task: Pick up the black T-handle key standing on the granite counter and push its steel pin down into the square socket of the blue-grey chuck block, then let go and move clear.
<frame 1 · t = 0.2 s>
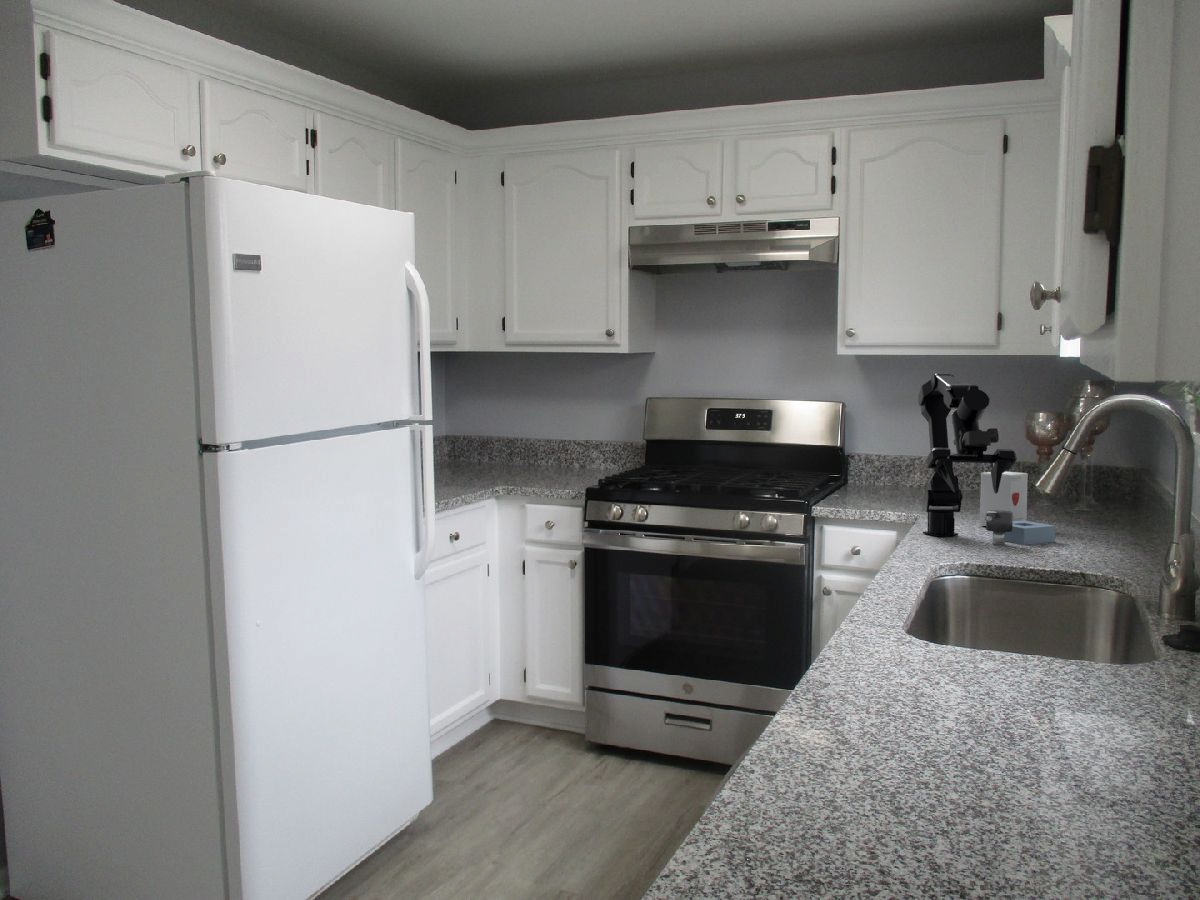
hand: (975, 492, 216), 15 cm above the worktop, tool tilted 30°, fingers open, 9 cm apart
chuck block: (1023, 540, 238), on the worktop
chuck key: (998, 544, 233), on the worktop
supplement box: (1003, 527, 260), on the worktop
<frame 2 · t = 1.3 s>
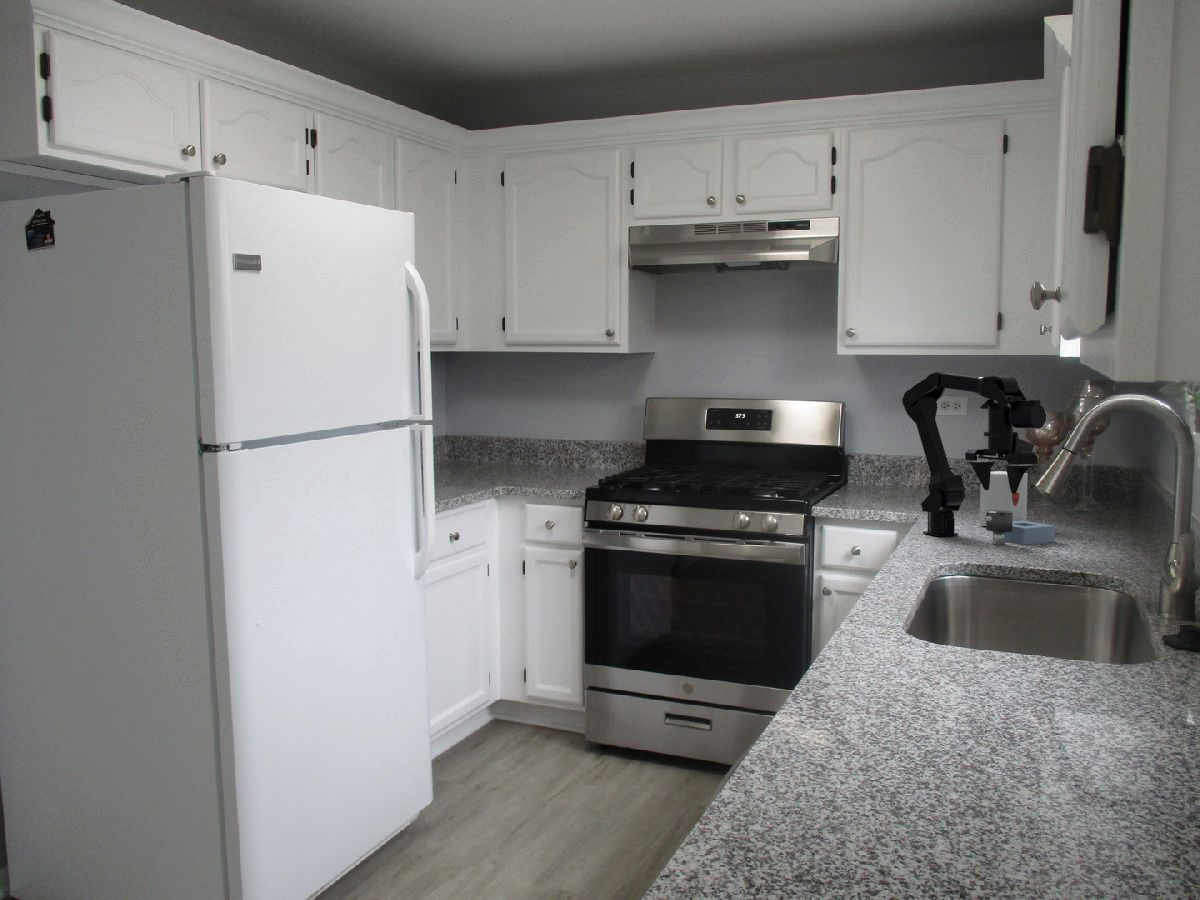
hand: (999, 491, 231), 13 cm above the worktop, tool pointing down, fingers open, 9 cm apart
nothing on the worktop moved.
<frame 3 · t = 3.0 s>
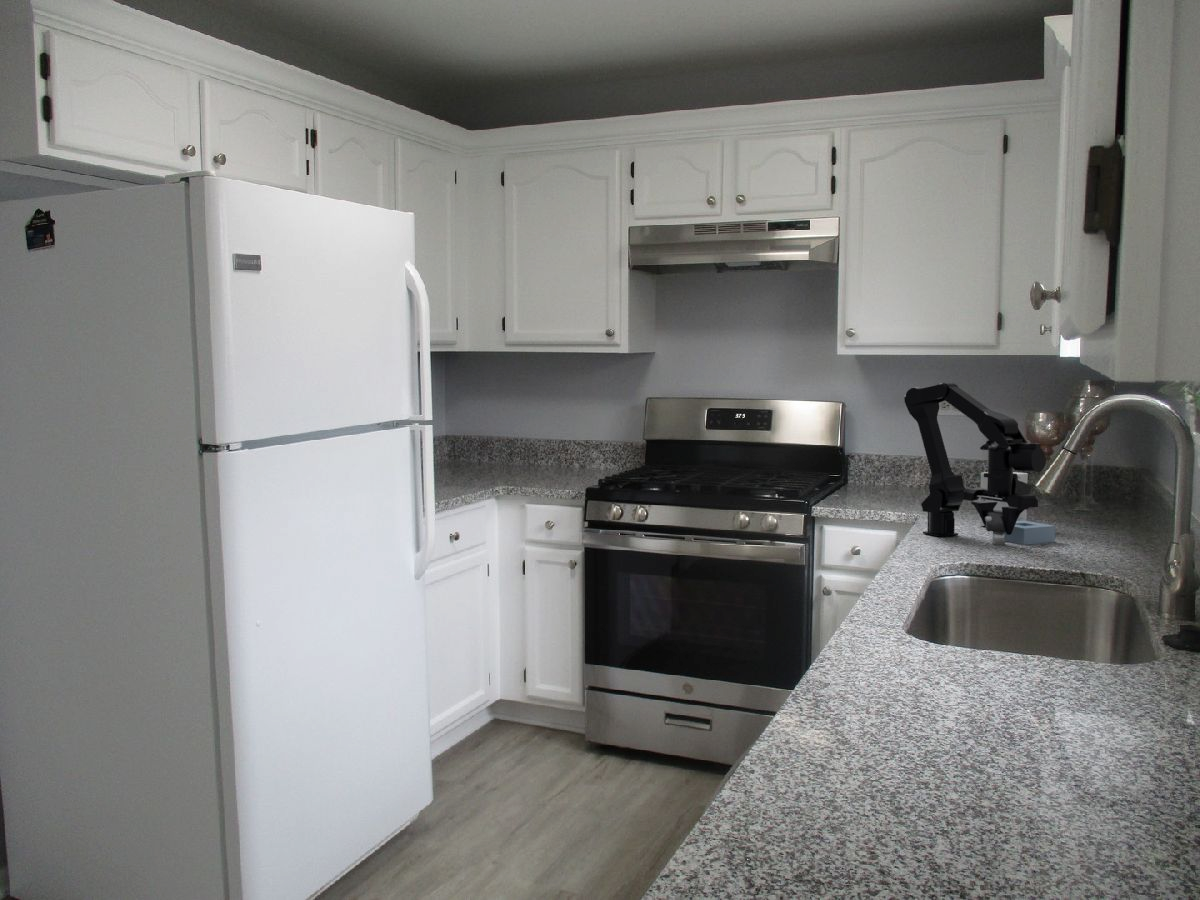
hand: (999, 532, 232), 3 cm above the worktop, tool pointing down, fingers closed on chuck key, 6 cm apart
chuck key: (998, 544, 233), on the worktop, touching gripper
everything else where it was.
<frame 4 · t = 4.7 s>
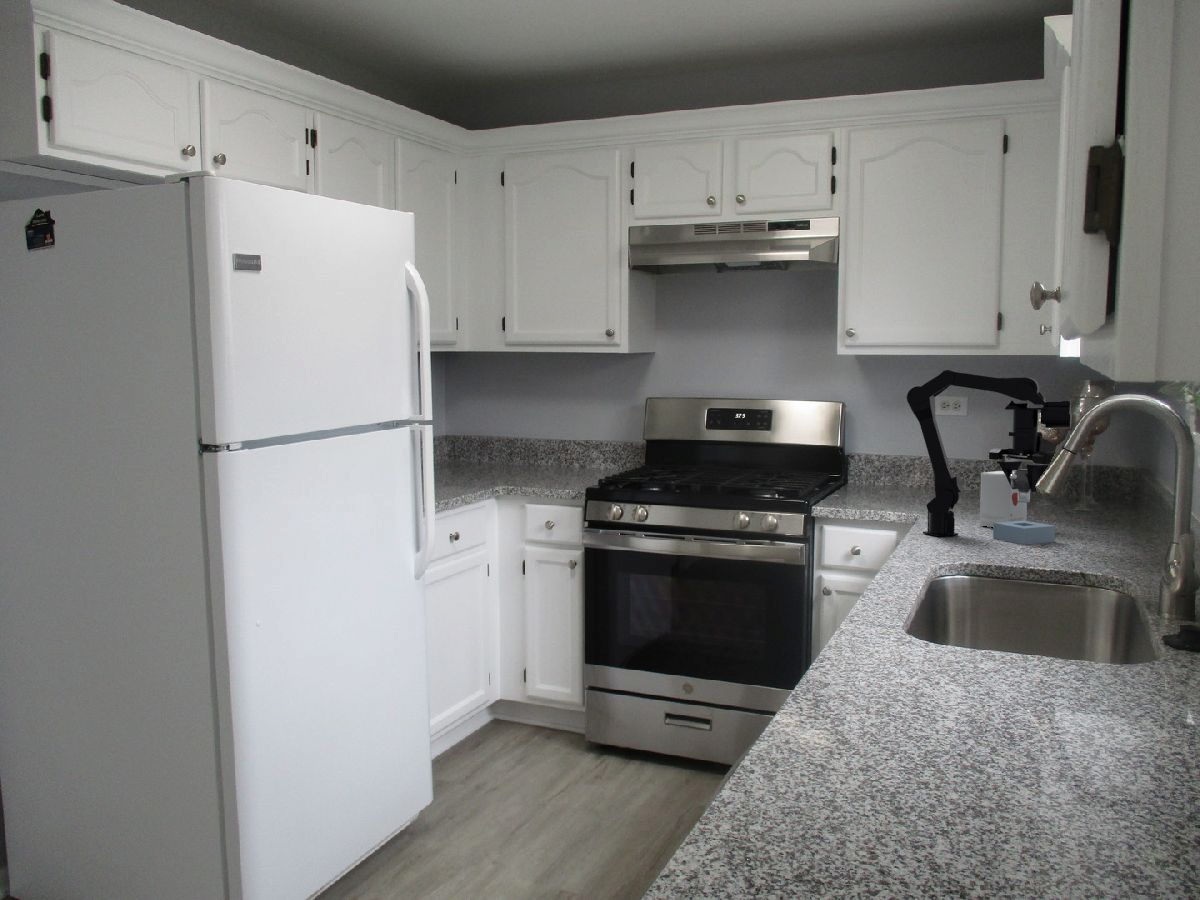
hand: (1023, 490, 237), 13 cm above the worktop, tool pointing down, fingers closed on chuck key, 6 cm apart
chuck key: (1023, 501, 237), point 10 cm above the worktop, touching gripper
everything else where it was.
when the fingers open (5 cm above the worktop, at t = 6.4 s): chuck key drops 1 cm, resting on chuck block.
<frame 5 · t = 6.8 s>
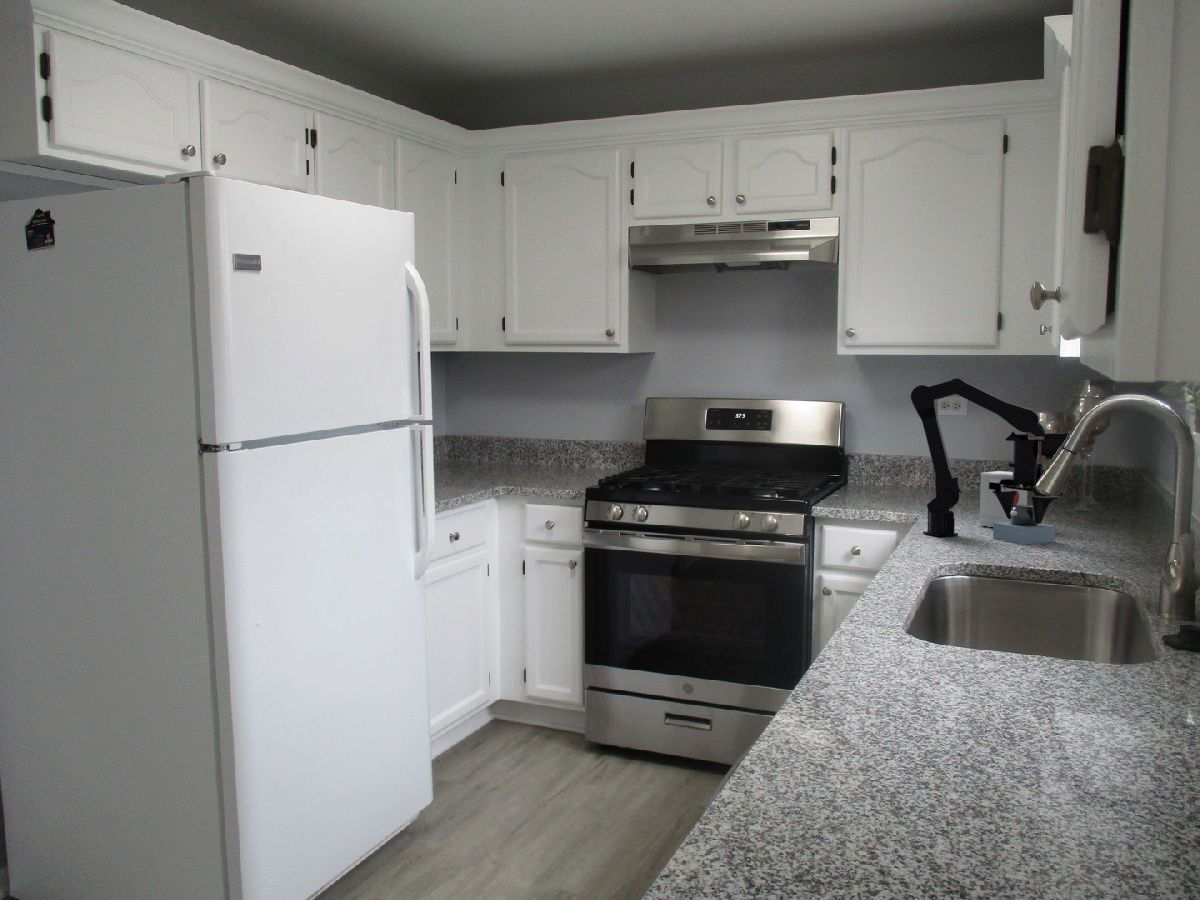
hand: (1023, 521, 238), 5 cm above the worktop, tool pointing down, fingers open, 9 cm apart
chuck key: (1023, 538, 238), resting on chuck block
everything else where it was.
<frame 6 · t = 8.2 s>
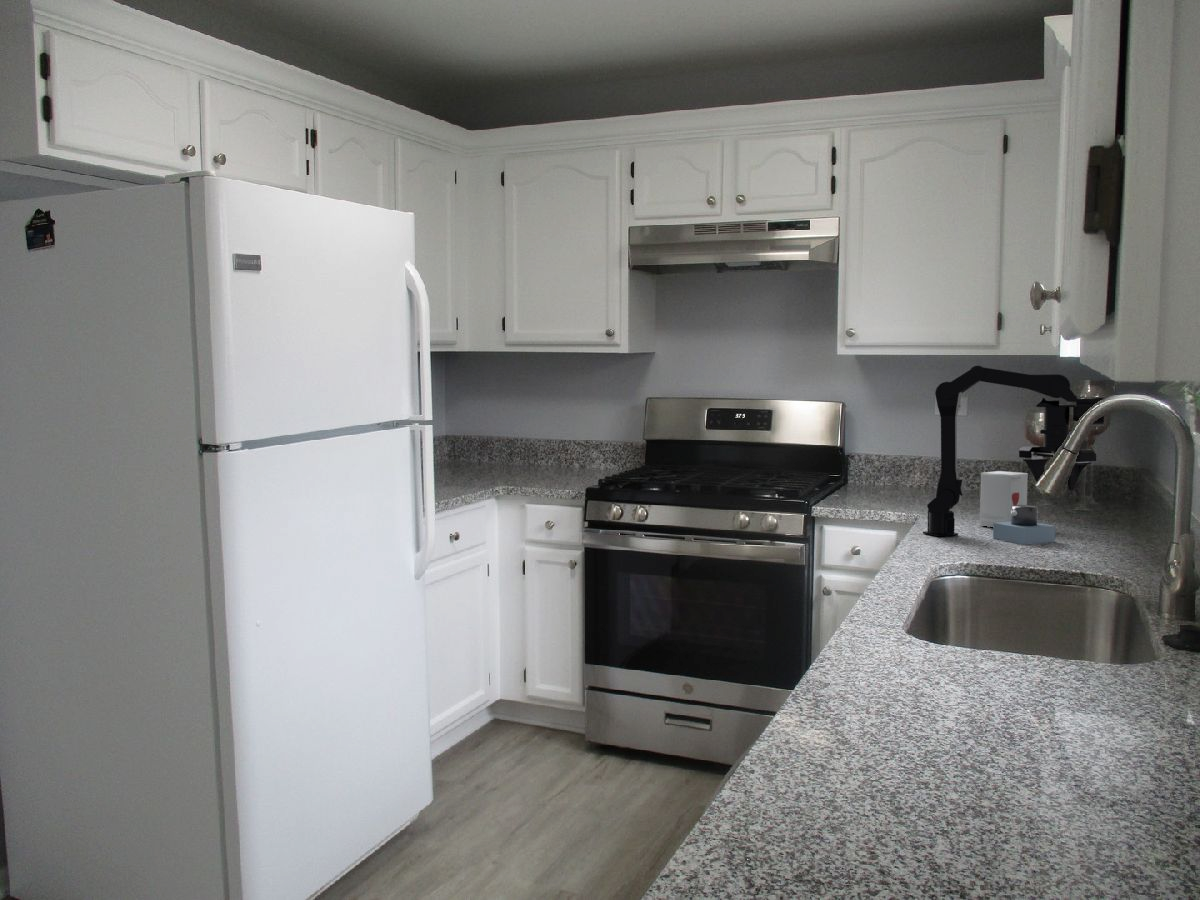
hand: (1055, 488, 234), 13 cm above the worktop, tool pointing down, fingers open, 9 cm apart
nothing on the worktop moved.
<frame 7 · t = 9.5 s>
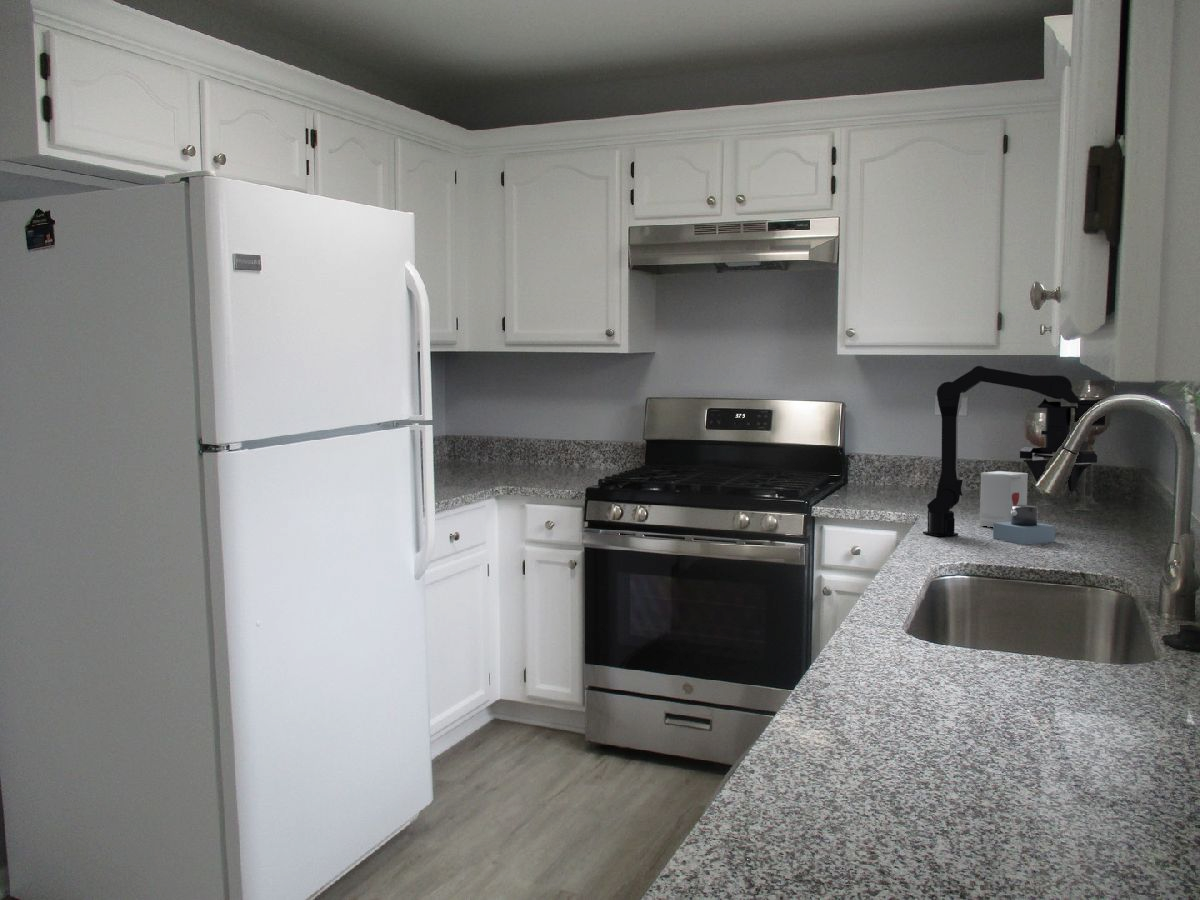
hand: (1056, 489, 234), 13 cm above the worktop, tool pointing down, fingers open, 9 cm apart
nothing on the worktop moved.
at the end: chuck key 0.0 cm off-centre on the chuck block, point 0.5 cm above the chuck block's base; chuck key tilted 0°; the gripper is holding nothing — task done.
